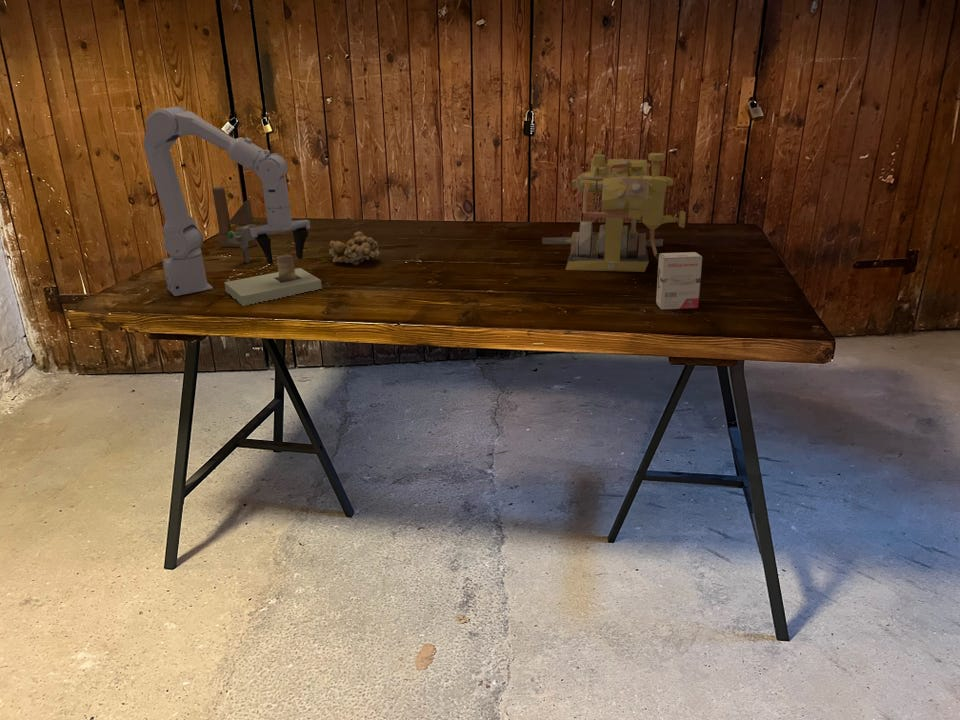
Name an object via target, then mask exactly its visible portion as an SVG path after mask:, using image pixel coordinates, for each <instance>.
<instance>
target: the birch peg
mask: <svg viewBox="0 0 960 720" xmlns="http://www.w3.org/2000/svg"><path fill="white" fill-rule="evenodd" d="M276 264H277V272H279V278H280V282H281V283H283V282H288V281H293V280H296V276H295V269H296V268H295V263H294V256H293V255H291V254H284V255H283V254H282V255H278V256H276Z"/></svg>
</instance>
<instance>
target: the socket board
mask: <svg viewBox="0 0 960 720" xmlns="http://www.w3.org/2000/svg"><path fill="white" fill-rule="evenodd" d="M295 276H296V280H293V281H288V282H283V283H281V282H280V278H279V272H278V271H276V272H271V273H266V274H261V275H260V274H259V275H255V276H251V277H246V278H239V279H235V280H230V281H224V283H223V284H224V288H225V292H226V293H227V294H228V295H229V294H230V295H231V296H232V298H233V299H234V300H235V299H236V300H237V301H238V302H237V301H236V300H235V301H236V302H237V303H238V304H240V305H241V306H243V307H247V306H251V305H250V304H252V305H256V304H259V303H258V302H261V303H264V302H263V301H266V302H269V301H268V300H271V301H274V300H273V299H275V300H278V298H280V299H283V298H282V297H285V298H287V297H286V296H290V297H292V296H291V295H294V296H296V295H295V294H299V293H304V292H308V291H313V292H315V291H314V290H318V289H322V290H323V288H322V279H320V278H318V277H316V276H315V275H313V274H311V273H309V272H308V271H306V270H305V269H303V268H301V267H299V268H295ZM318 291H319V290H318ZM304 294H305V293H304ZM230 295H229V296H230ZM299 295H300V294H299ZM231 296H230V297H231ZM255 303H256V304H255ZM246 305H247V306H246Z"/></svg>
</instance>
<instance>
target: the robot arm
mask: <svg viewBox="0 0 960 720" xmlns="http://www.w3.org/2000/svg"><path fill="white" fill-rule="evenodd" d="M144 123H145V126H146V128H145V133H144V138H143V150H144V152H145V156H146V159H147V162H148V166H149V168H150V169H149V170H150V173H151V175H152V179H153V181H154V185H155V189H156V192H157V195H158V199H159V201H160V204H161V205H160V206H161V208H162V211H163V215H164V218H165V220H164V224H163V229H162V232H163V235H164V239H163V248H164V251H166V253H167V254H168V255H170V257H168V258H164V259H162V266H163V271H164V277H165V281H166V285H167V286H166V287H167V290H168V291H169V292H170V293H171V295H173V297H178V296H184V295H187V294H193V293H200V292H205V291H209V290H213V289H214V288H213V286H212V285H211V284H210V283H208V278H207V273H206V270H205V269H206V268H205V263H204V258H203V254H202V249H201V246H202V245H203V242H204V234H203V233H202V231H201V229H200V228H199V227H198V226H197V224H196V220H195V219H194V218H193V217H192V216H191V215H190V214H189V212H188V209H187V205H186V202H185V198H184V194H183V191H182V188H181V185H180V181H179V178H178V175H177V171H176V167H175V165H174V160H173V158H172V154H171V148H172V147H173V146H174V144H175V143H176V141H177V140H178V139H179V138H180V137H182V136H196V137H198V138H200V139H202V140H204V141H207V142H208V143H211V144H213V145H214V146H216V147H219V148H221V149H222V150H224V151H227V153H228V156H229V159H231V160H232V161H234V162H236V163H237V164H239V165H241V166H243V167H245V168H247V169H248V170H249V171H252V172H254V173H256V175H257V177H258V178H259V179H260V180H261V182H262V192H263V198H264V199H263V200H264V205H265V212H266V220H267V224H264V225H259V226H257V227H254V228H250V233H251V236H252V237H255V239H256V243H258V245H259V246H260V248H261V250H262V252H263V254H264V257H265V259H266V262H267V264H268V265H273V264H274V260H273V256H272V245H271V243H272V242H271V241H272V239H271V238H270V237H269V235H273V234H279V233H285V232H291V233H292V235H293V240H294V246H295V247H294V248H295V254H296V258H297V259H299V260H302V259H303V253H304V248H305V247H304V246H305V244H306V240H307V238H308V236H309V229H311V222H310V220H308V219H299V220H292V213H291V206H290V205H291V204H290V198H289V197H290V196H289V190H288V185H287V184H288V183H287V177H286V174H287V172H288V169H289V167H288V163H287V160H286V159H285V158H284V157H282V156H281V155H280V154H279V153H277V152H276V153H271V151H270V150H269V149H265V148H264V149H263V148H262V147H260V146H258V145H256V144H255V143H253V142H252V139H251V138H249V137H245V138H244V137H241V136H240V137H237V138H234V137H232V136H231V135H229V134H228V133H226V132H223V130H221V129H220V128H218V127H216V126H214V125H212V124H211V123H210V122H208V121H207V120H204V119H203V118H201V117H200V116H198V115H197V114H196V113H194V111H190V110H187V109H185V108H184V107H182V106H179V105H174V106H170V107H166V108H158V109H155V110H153V111H152V112H151V113H150V114H149V115H148V117H146V119H145V121H144Z"/></svg>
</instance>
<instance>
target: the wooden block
mask: <svg viewBox="0 0 960 720" xmlns="http://www.w3.org/2000/svg"><path fill="white" fill-rule="evenodd" d="M212 195H213V200H214V201H213V202H214V207H215V213H216V219H217V224H218V229H219V235H218V236H217V237H218V243H219V247H220V248H240V244H231V243H229V242H228V238H227V236H226V234H227V233H228V232H229V231H233V230H232V225H238V227H242V226H246V225H255V224H254V219H253V211H252V204H251V199H249V198H248V200H245V201H244V202H243V203H242V204H241V206H239V208H238V210H237V211H236V212H235V213H234V215H233V216H232V217H231V218H230V214H229V206H228V202H227V201H228V200H227V195H226V189H225V187H223V186H216V187H215V186H214V187H213V188H212ZM237 240H238V239H237V238H236V241H237ZM257 243H258V242H257V240H256V239H254V240H250V241H248V245H249V247H248V248H253V247H256V246H257Z"/></svg>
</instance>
